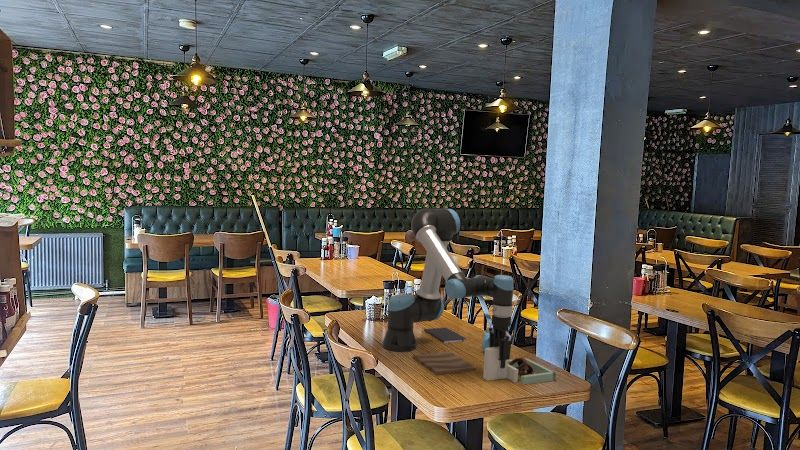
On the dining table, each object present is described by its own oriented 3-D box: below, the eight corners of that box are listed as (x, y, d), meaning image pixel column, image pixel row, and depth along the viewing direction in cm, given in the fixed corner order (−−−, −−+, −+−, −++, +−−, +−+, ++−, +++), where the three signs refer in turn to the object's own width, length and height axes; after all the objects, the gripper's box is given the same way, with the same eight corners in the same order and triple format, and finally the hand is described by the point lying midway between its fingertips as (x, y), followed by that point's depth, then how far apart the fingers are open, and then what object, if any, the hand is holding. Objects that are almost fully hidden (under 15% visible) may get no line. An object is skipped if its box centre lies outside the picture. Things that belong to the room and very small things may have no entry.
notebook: (423, 332, 284) (443, 344, 265) (423, 329, 284) (443, 340, 265) (445, 330, 290) (467, 342, 270) (446, 327, 289) (467, 338, 270)
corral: (495, 368, 232) (495, 361, 232) (525, 364, 238) (526, 358, 238) (523, 384, 215) (523, 377, 214) (555, 380, 221) (556, 372, 221)
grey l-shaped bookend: (476, 373, 225) (478, 344, 224) (498, 371, 229) (500, 342, 228) (494, 385, 213) (496, 354, 212) (517, 382, 217) (519, 351, 216)
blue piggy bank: (472, 350, 256) (473, 328, 255) (496, 346, 263) (497, 325, 262) (497, 362, 241) (498, 339, 240) (522, 358, 247) (524, 335, 247)
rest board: (412, 357, 241) (412, 355, 241) (449, 354, 249) (449, 351, 248) (436, 374, 221) (436, 372, 221) (475, 370, 229) (476, 367, 229)
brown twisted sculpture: (536, 382, 219) (528, 365, 217) (513, 389, 222) (505, 372, 220) (535, 365, 230) (527, 348, 228) (513, 372, 233) (505, 356, 231)
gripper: (482, 311, 225) (478, 368, 227) (505, 321, 210) (501, 382, 212) (498, 310, 228) (494, 366, 230) (522, 319, 213) (518, 380, 215)
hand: (498, 373), depth 221 cm, fingers closed on grey l-shaped bookend, 3 cm apart
